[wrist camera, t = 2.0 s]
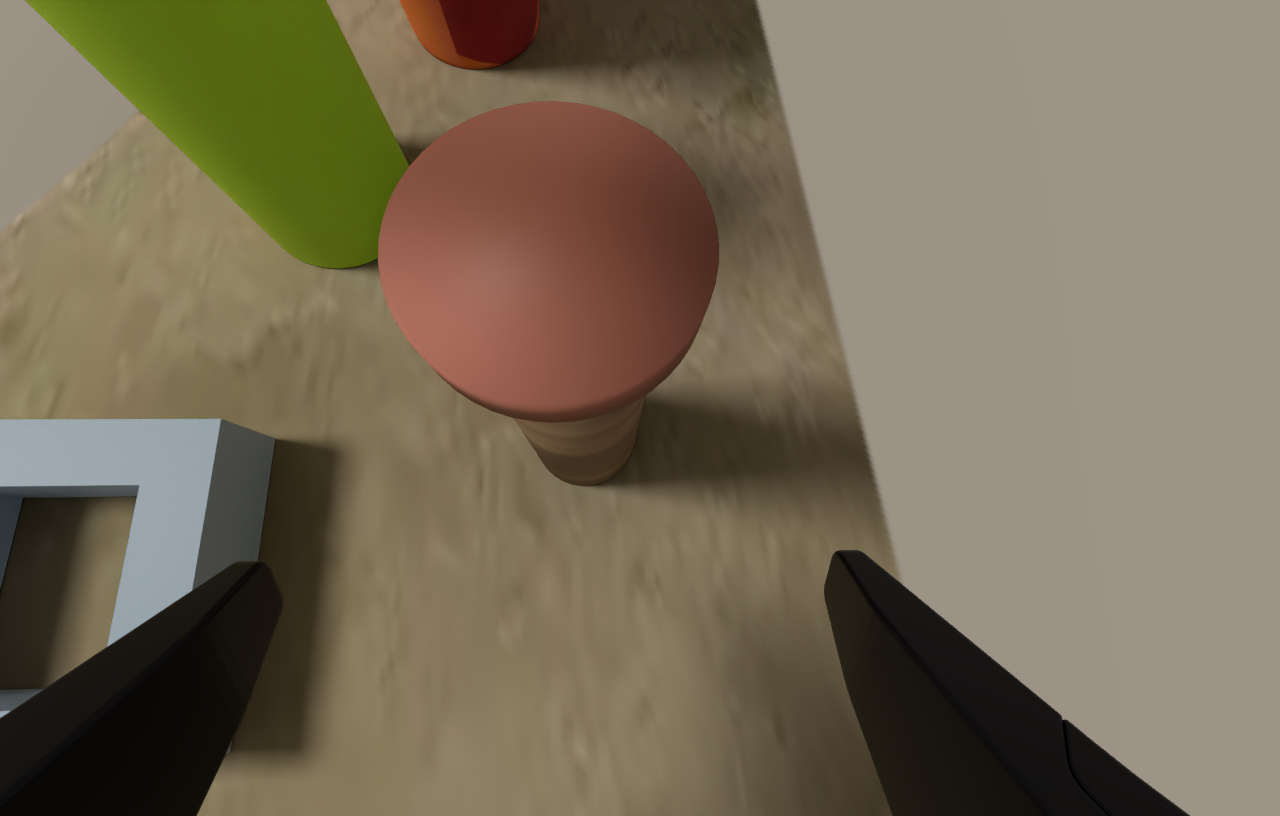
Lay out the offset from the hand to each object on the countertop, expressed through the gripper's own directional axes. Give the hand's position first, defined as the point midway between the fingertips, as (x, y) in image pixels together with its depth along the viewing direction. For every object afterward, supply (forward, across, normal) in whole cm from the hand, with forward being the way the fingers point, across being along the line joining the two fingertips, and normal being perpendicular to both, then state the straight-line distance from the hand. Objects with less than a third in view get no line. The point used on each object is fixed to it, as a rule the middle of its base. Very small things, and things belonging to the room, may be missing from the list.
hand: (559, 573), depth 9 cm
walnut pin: (+11, 0, +5) cm, 12 cm away
